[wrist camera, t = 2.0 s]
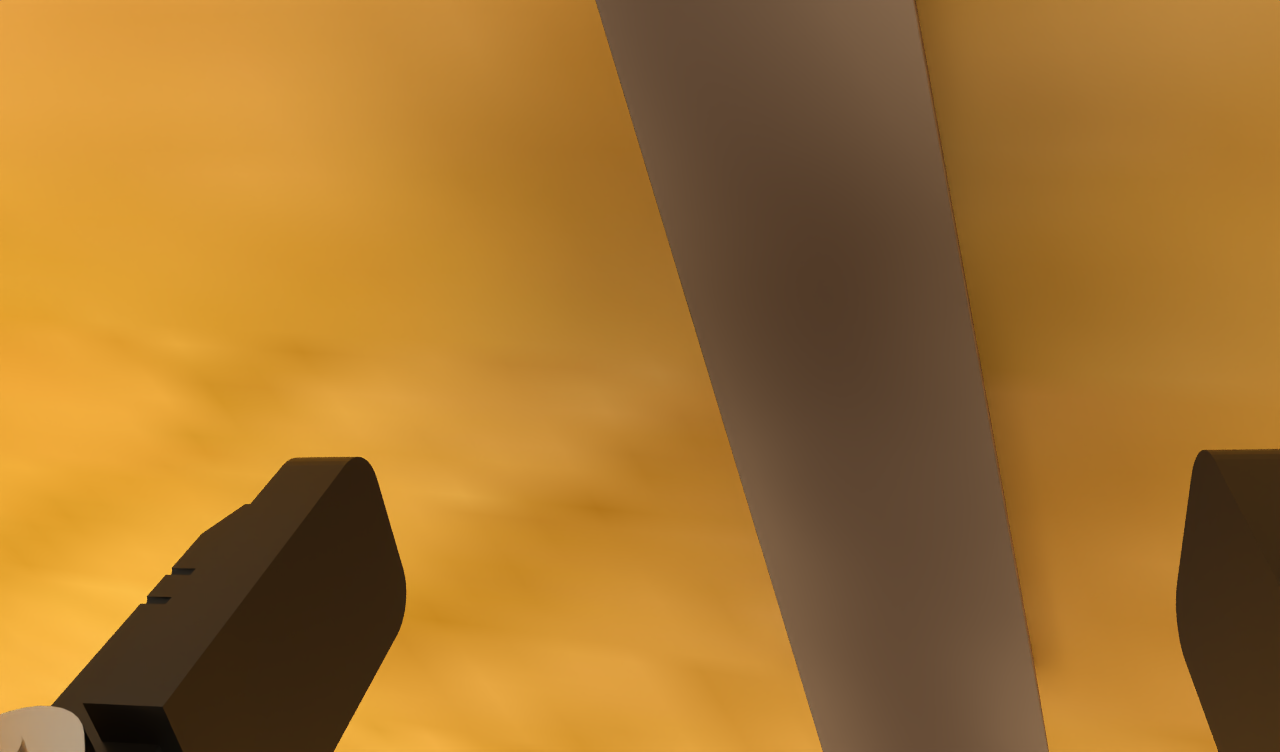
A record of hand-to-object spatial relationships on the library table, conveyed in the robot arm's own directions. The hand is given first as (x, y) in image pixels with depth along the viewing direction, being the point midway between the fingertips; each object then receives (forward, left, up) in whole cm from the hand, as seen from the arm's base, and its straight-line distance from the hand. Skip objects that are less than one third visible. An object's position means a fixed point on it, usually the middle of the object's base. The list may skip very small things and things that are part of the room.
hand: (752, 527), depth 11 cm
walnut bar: (0, 0, -10) cm, 10 cm away
